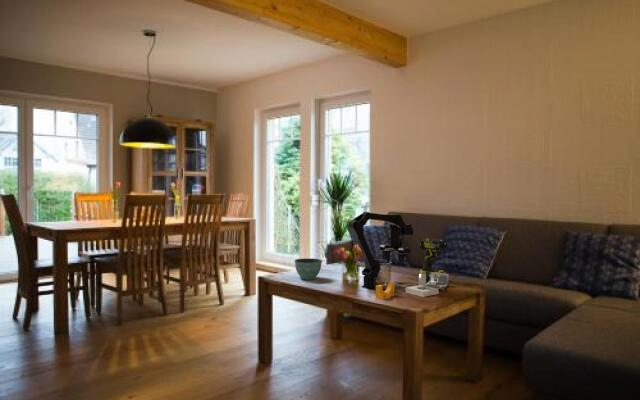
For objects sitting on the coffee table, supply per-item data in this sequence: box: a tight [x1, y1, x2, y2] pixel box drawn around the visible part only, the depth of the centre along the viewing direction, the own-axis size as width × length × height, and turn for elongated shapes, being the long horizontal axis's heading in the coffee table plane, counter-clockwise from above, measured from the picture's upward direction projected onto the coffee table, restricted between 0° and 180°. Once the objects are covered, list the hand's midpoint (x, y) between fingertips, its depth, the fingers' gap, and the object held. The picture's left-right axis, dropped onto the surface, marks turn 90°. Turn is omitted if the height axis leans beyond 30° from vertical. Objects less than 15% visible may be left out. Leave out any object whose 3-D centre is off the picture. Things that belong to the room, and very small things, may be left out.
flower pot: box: [294, 258, 323, 281], centre depth 280 cm, size 16×16×11 cm
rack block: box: [405, 284, 440, 298], centre depth 248 cm, size 12×12×2 cm
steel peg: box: [418, 272, 427, 290], centre depth 248 cm, size 4×4×10 cm
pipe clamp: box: [375, 281, 395, 301], centre depth 238 cm, size 12×4×6 cm, turn 135°
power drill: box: [419, 237, 450, 282], centre depth 281 cm, size 9×17×25 cm, turn 68°
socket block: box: [385, 280, 419, 292], centre depth 259 cm, size 12×12×2 cm
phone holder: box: [426, 272, 451, 292], centre depth 262 cm, size 18×10×12 cm
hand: (394, 264), depth 265 cm, fingers open, 9 cm apart
